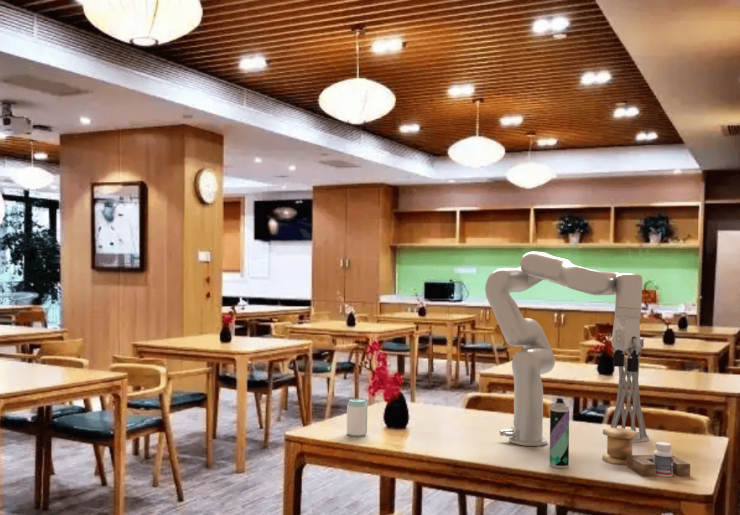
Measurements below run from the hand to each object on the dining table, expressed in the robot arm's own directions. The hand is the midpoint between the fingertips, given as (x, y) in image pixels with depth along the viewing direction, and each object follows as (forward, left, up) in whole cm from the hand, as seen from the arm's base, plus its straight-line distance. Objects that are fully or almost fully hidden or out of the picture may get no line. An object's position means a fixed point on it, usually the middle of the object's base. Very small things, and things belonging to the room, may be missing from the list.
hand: (625, 368), depth 218 cm
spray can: (-22, -5, -28) cm, 36 cm away
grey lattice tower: (+16, +30, -28) cm, 44 cm away
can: (-79, +36, -28) cm, 92 cm away
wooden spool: (-1, 0, -28) cm, 28 cm away
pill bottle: (+5, -15, -28) cm, 32 cm away
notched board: (+5, -12, -28) cm, 31 cm away
